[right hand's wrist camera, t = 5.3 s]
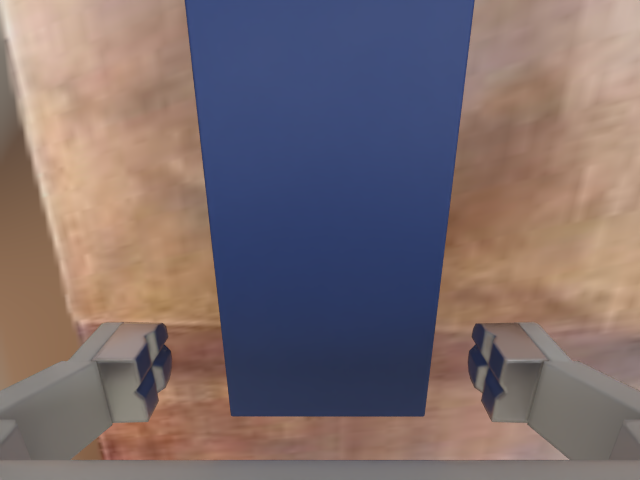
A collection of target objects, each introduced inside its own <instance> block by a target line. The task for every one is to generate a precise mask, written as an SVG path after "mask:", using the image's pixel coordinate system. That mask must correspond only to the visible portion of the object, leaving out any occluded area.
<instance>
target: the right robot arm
mask: <svg viewBox="0 0 640 480" xmlns="http://www.w3.org/2000/svg"><path fill="white" fill-rule="evenodd" d="M167 338H168V333H167V328H166V326H165V325H164V324H163V323H139V322H125V323H124V322H106V323H102V324H101V325H100V326H99V327H98V328H97V330H96V331H95V332H94V333H93V334H92V335H91V336H90V337H89V338H88V339H87V340H86V342H85V343H84V344H83V345H82V346H81V347H80V348H79V349H78V350H77V351H76V353H75V354H74V355H73V356H72V357H71V358H70V359H69V360H68V361H61V362H59V363H57V364H55V365H52V366H50V367H48V368H46V369H44V370H42V371H40V372H38V373H36V374H34V375H32V376H30V377H28V378H26V379H24V380H22V381H20V382H18V383H16V384H13V385H11V386H9V387H7V388H5V389H3V390H1V391H0V480H640V391H639V390H637V389H635V388H633V387H630V386H628V385H626V384H624V383H622V382H620V381H618V380H616V379H614V378H612V377H610V376H608V375H606V374H604V373H602V372H600V371H598V370H596V369H594V368H592V367H590V366H588V365H585V364H583V363H581V362H579V361H572V360H571V359H570V358H569V357H568V356H567V355H566V354H565V353H564V351H563V350H562V349H561V348H560V347H559V346H558V345H557V344H556V343H555V342H554V340H553V339H552V338H551V337H550V336H549V335H548V334H547V333H546V332H545V331H544V329H543V328H542V327H541V326H540V325H539V324H537V323H535V322H515V323H479V324H475V326H474V328H473V333H472V338H473V340H474V342H475V343H476V345H475V346H474V347H473V348H472V349H471V350H470V351H469V356H468V370H469V375H470V379H471V381H472V383H473V385H474V388H476V389H477V390H479V391H480V392H482V393H483V394H482V399H481V401H482V403H483V405H484V407H485V409H486V411H487V413H488V415H489V417H490V419H491V421H492V422H515V423H528V424H527V425H529V426H530V427H531V428H532V429H533V430H535V431H536V432H537V433H538V434H540V435H541V436H542V437H543V438H544V439H546V440H547V441H548V442H549V443H550V444H552V445H553V446H554V447H555V448H556V449H558V450H559V451H560V452H561V453H562V454H564V455H565V456H566V457H567V458H568V459H570V460H70V459H72V458H73V457H74V456H75V455H76V454H78V453H79V452H80V451H81V450H82V449H84V448H85V447H86V446H87V445H89V444H90V443H91V442H92V441H93V440H95V439H96V438H97V437H98V436H99V435H101V434H102V433H103V432H104V431H105V430H107V429H108V428H109V427H110V426H112V423H124V422H148V421H149V419H150V417H151V415H152V413H153V411H154V409H155V407H156V405H157V403H158V401H159V399H158V394H157V393H158V392H160V391H161V390H163V389H164V388H166V385H167V383H168V381H169V379H170V375H171V370H172V356H171V351H170V350H169V349H168V348H167V347H166V346H165V345H164V343H165V342H166V340H167Z"/></svg>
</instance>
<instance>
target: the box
mask: <svg viewBox="0 0 640 480" xmlns="http://www.w3.org/2000/svg"><path fill="white" fill-rule="evenodd" d="M474 1H475V0H185V7H186V16H187V25H188V34H189V43H190V52H191V61H192V70H193V79H194V88H195V97H196V106H197V115H198V124H199V133H200V142H201V151H202V160H203V169H204V178H205V187H206V196H207V204H208V213H209V222H210V231H211V240H212V249H213V258H214V267H215V276H216V285H217V294H218V303H219V312H220V321H221V330H222V339H223V348H224V357H225V366H226V375H227V384H228V393H229V402H230V411H231V416H424V415H425V407H426V399H427V390H428V382H429V374H430V366H431V357H432V349H433V341H434V332H435V324H436V316H437V307H438V299H439V291H440V283H441V274H442V266H443V258H444V249H445V241H446V233H447V224H448V216H449V208H450V200H451V191H452V183H453V175H454V166H455V158H456V150H457V142H458V133H459V125H460V117H461V108H462V100H463V92H464V83H465V75H466V67H467V59H468V50H469V42H470V34H471V25H472V17H473V9H474Z"/></svg>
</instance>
